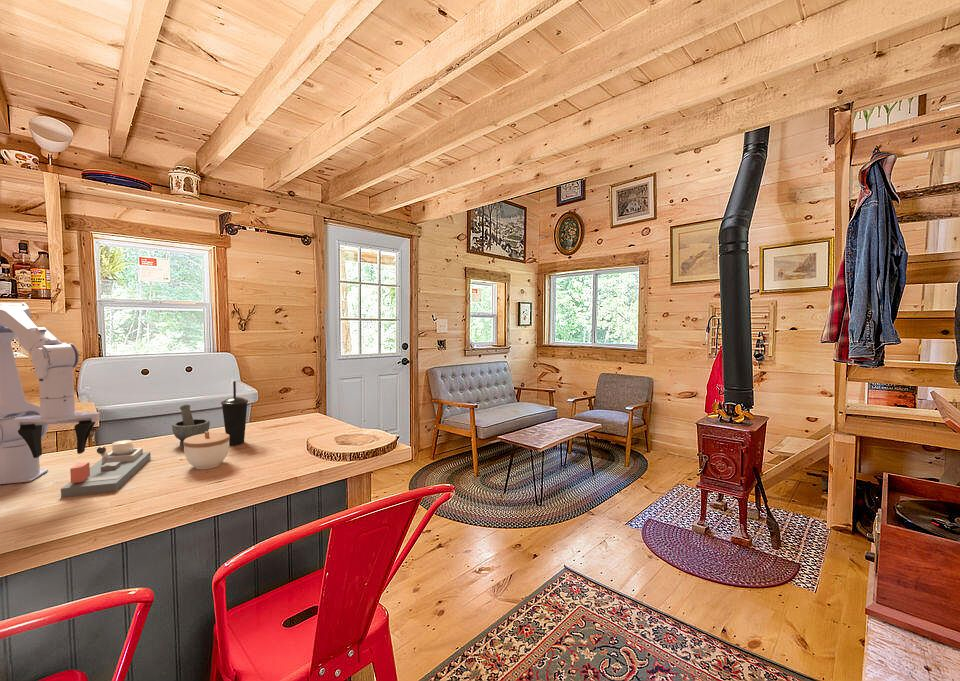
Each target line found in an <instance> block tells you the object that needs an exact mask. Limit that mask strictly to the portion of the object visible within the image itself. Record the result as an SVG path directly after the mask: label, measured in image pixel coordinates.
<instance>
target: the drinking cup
mask: <svg viewBox="0 0 960 681" xmlns="http://www.w3.org/2000/svg"><path fill="white" fill-rule="evenodd" d="M236 382H237V381H236V380H233V382H232V384H233V386H232V387H233V391H232V392H233V393H232V394H233V397H228V398H226V399H224V400H222V401H220V404H221V407H222V415H223V424H224V433H226V434H229V435H230V439H229V446H240V445H242V444H244V443H245V436H246V425H247V424H246V423H247V422H246V421H247V412H248V403H249V400H248V399H247V398H244V397H239V396H237V386H236V384H237V383H236Z"/></svg>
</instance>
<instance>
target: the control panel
mask: <svg viewBox="0 0 960 681" xmlns="http://www.w3.org/2000/svg"><path fill="white" fill-rule="evenodd" d="M143 450H144V448H143V447H136V448H134V447H133V451H132V452H129V453H125V454H112V450H111V451H110V452H107V454H108V455H109V457H110V458H111V459H109V460H107V461H104V459H103V458H102V457H101V459H100V460H98V461H97V462H95V463H94V464H93V465H91V466H90V476H89V477H88V478H86V479H85V480H84V481H83V482H77V483H71V481H69V482H68V483H67V484H65V485H64V486H63V487H61V488H60V498H69V497H77V496H86V495H95V494H105V493H113V492H118V490H119V489H121V487H122V486H124V485H125V484H126V483H127V481H129V480H130V479H131V478H132V477H133V476H134V475H135V474H137V473H138V471H139V470H140V469H141V468H143V467H144V466H145V465H146V464H147V463H148V462H149V461H150V460H151V458H152V457H151V451H143Z"/></svg>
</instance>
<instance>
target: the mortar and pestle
mask: <svg viewBox="0 0 960 681" xmlns="http://www.w3.org/2000/svg"><path fill="white" fill-rule="evenodd" d="M179 409H180V411H181V419H182V420H180V421H176V422H174V423H172V424H171V426H172V427H171V428H172V434H173V435H174V436H175V438H176V439H178V440H179V441H180V442H179V446H180V447H182V448H184V444H183V441H184V440H185V439H186V438H188V437H191V436H194V435H198V434H204V433H205V432H207V431H209V430H210V426H211V422H210V420H209V419H206V418H194V417H193V415H192V414H193V413H192V412H191V405H190V404H183V405H181V406H179Z"/></svg>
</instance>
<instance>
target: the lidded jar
mask: <svg viewBox="0 0 960 681" xmlns="http://www.w3.org/2000/svg"><path fill="white" fill-rule="evenodd" d="M229 439H230V435H229V434H226V433H225V432H210V431H209V430H208V431H207V432H205V433H204V434H198V435H194V436H191V437H188V438H186V439H185V440H184V441H183V444H184V447H183V449H184V451H183V452H184V456H185V459H186V461H187V462H188V464H190V465H191V466H192V467H193V468H194V469H195V470H208V469H209V470H210V469H214V468H218V467H219V466H220V465H221V463H223V462H224V460H225V459H226V458H227V456H228V453H229V450H230V445H229Z"/></svg>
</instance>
